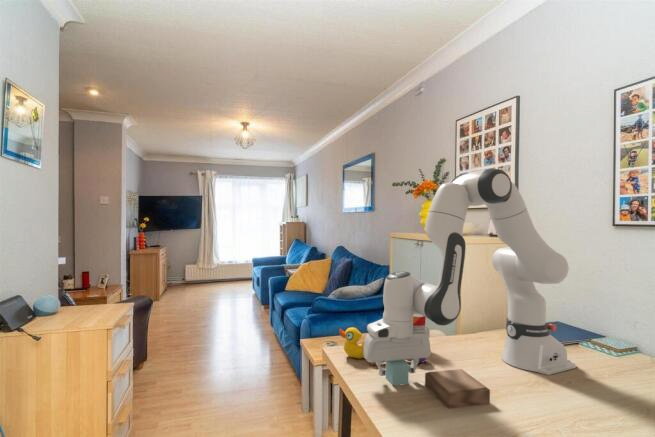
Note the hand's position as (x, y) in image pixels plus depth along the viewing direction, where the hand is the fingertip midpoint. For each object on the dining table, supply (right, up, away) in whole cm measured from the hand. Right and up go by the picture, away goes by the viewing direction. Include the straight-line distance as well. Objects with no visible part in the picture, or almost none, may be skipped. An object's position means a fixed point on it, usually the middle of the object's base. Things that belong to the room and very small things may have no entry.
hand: (396, 373), depth 99 cm
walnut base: (+15, -2, -7) cm, 17 cm away
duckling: (-11, -2, +17) cm, 20 cm away
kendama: (+3, -3, +13) cm, 13 cm away
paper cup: (+12, -3, +26) cm, 29 cm away
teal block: (0, -2, 0) cm, 2 cm away
